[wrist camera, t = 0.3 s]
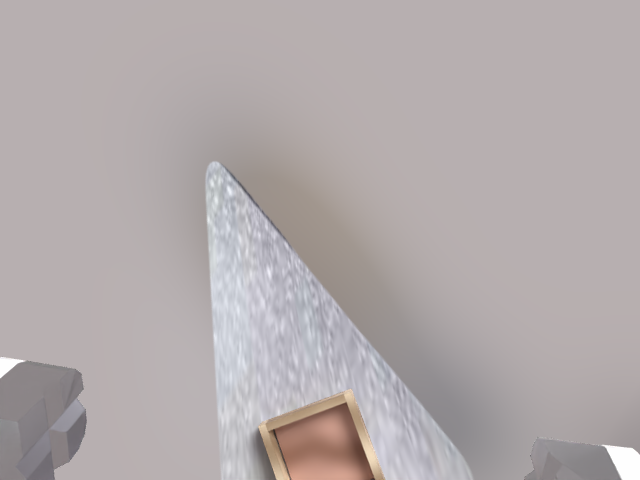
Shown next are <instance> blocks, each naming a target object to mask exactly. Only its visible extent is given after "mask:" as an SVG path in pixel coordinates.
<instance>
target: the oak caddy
mask: <svg viewBox="0 0 640 480" xmlns="http://www.w3.org/2000/svg"><path fill="white" fill-rule="evenodd" d="M258 427H259V430H260V433H261V436H262V439H263V442H264V445H265V448H266V451H267V453H268V456H269V459H270V462H271V465H272V468H273V471H274V474H275V477H276V480H290V478H289V475H288V472H287V469H286V466H285V463H284V461H283V458H282V455H281V452H280V449H279V446H278V443H277V440H276V438H275V435H274V432H273V429H274V430H275V433H276V436H277V439H278V442H279V445H280V448H281V451H282V453H283V456H284V459H285V462H286V465H287V468H288V471H289V474H290V477H291V479H292V480H370V479H373V478H375V479H374V480H385V478H384V475H383V472H382V470H381V467H380V464H379V462H378V459H377V456H376V454H375V451H374V448H373V445H372V443H371V440H370V437H369V435H368V432H367V429H366V427H365V424H364V421H363V419H362V416H361V413H360V410H359V408H358V405H357V402H356V400H355V397H354V394H353V392H352V389H349V390H347V391H344V392H341V393H339V394H336V395H333V396H331V397H328V398H325V399H323V400H320V401H317V402H314V403H312V404H309V405H306V406H304V407H301V408H298V409H296V410H293V411H290V412H288V413H285V414H282V415H280V416H277V417H274V418H272V419H269V420H266V421H264V422H262V423H261V424H260V425H259V426H258Z"/></svg>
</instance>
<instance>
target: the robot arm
mask: <svg viewBox="0 0 640 480" xmlns="http://www.w3.org/2000/svg"><path fill="white" fill-rule="evenodd" d="M83 389H84V388H83V381H82V374H81V373H80V372H79V371H77V370H76V369H72V368H67V367H61V366H55V365H49V364H43V363H37V362H31V361H23V360H18V359H12V358H5V357H0V480H55V478H54V469H56V468H58V467H60V466H62V465H64V464H66V463H68V462H69V461H70V460H71V459H72V457H73V456H74V455H75V454H76V452H77V451H78V449H79V447H80V445H81V442H82V439H83V437H84V434H85V429H86V421H87V420H86V409H85V408H84V407H83V405H82V404H81V403H80V402H79V400H78V399H77V397H78V395H79V394H80V393H81V392H82V390H83ZM530 456H531V460H532V463H533V466H534V470H533V471H532V472H531V473H529V474H528V475H527V476H525V479H524V480H640V455H639V454H638V453H637V452H636V451H635V450H633V449H632V448H625V447H616V446H607V445H599V446H598V445H592V444H585V443H577V442H571V441H564V440H557V439H549V438H542V437H537V439H536V441H535V442H534V445H533V448H532V452H531V455H530Z"/></svg>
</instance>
